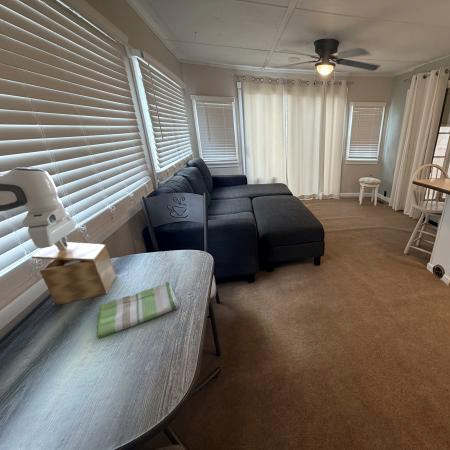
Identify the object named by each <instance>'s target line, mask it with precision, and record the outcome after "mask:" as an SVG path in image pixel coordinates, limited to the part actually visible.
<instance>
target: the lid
mask: <svg viewBox="0 0 450 450" xmlns="http://www.w3.org/2000/svg"><path fill="white" fill-rule="evenodd" d="M67 244H68V247H67V248H66V249H64V250H61V251H60V250H58V248H57V246H55V245H53V246H51V247H46V248H40V250H38V251H37V252H35V254H33V255H31V259H35V260H52V259H57V260H83V261H94V260H95V258H96V257H97V256H98V255H99V253H100V252H101V251H102V250H103V248H104V247H106V244H103V243H85V242H72V241H70V242H69V241H67Z"/></svg>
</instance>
